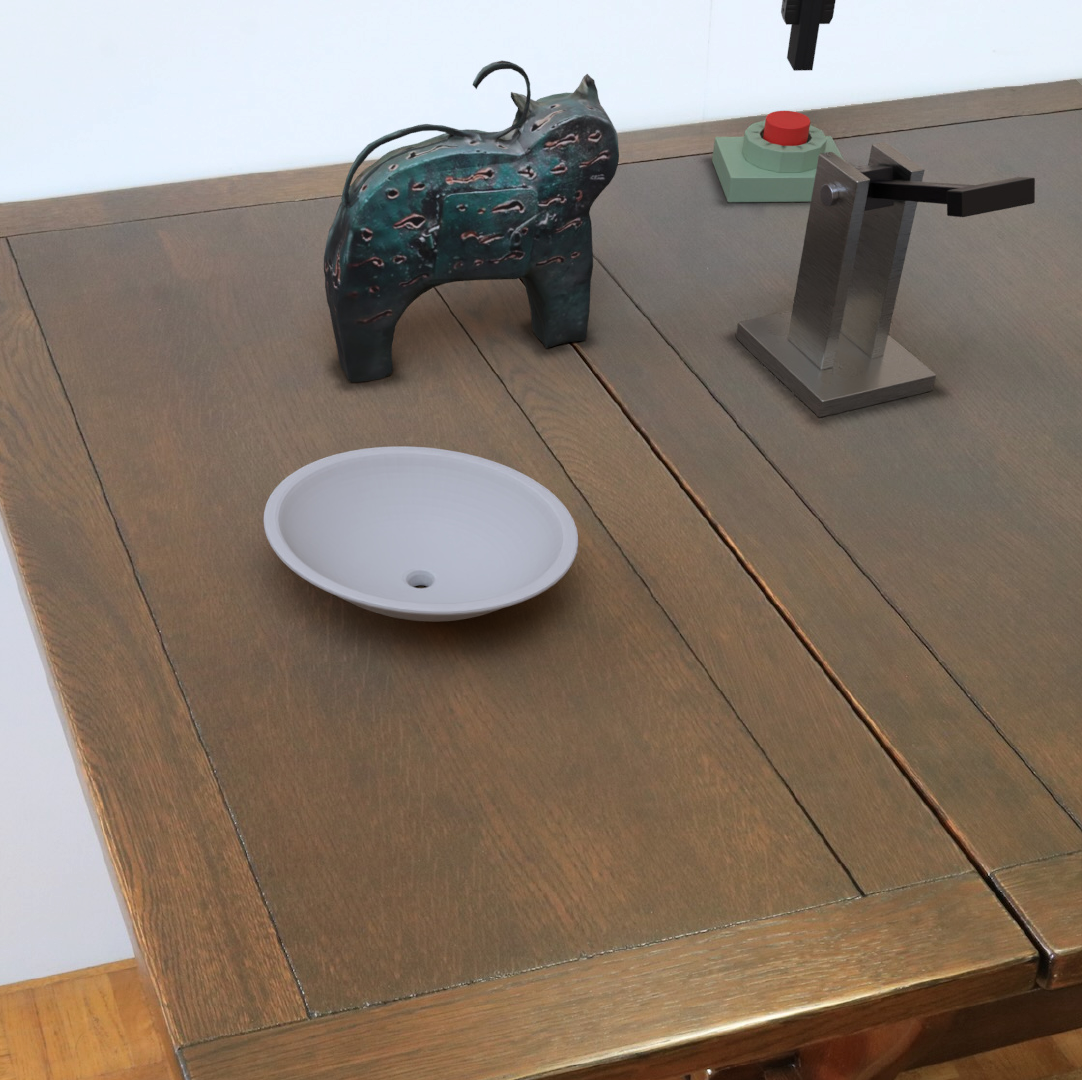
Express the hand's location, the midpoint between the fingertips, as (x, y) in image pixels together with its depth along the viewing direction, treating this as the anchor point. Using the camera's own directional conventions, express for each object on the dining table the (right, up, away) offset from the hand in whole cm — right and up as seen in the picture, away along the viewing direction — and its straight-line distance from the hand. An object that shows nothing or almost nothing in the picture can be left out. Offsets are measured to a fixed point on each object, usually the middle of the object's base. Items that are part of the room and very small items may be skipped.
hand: (799, 63), depth 121 cm
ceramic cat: (-26, -26, -15) cm, 40 cm away
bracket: (-1, -26, -15) cm, 31 cm away
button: (0, -5, +4) cm, 6 cm away
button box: (0, -7, +7) cm, 10 cm away
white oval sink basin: (-29, -43, -34) cm, 62 cm away
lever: (+1, -19, -28) cm, 34 cm away
